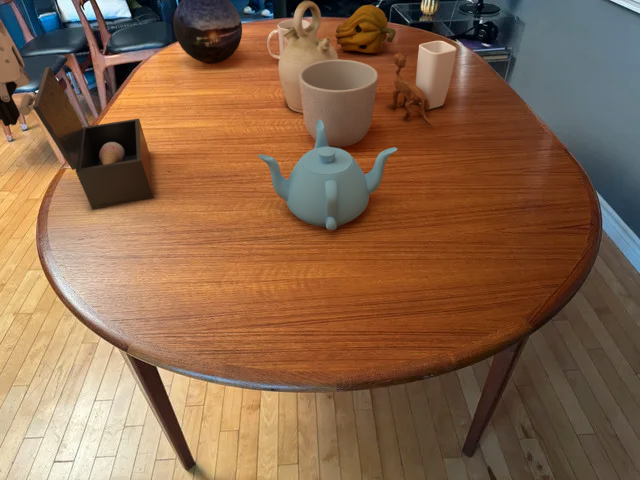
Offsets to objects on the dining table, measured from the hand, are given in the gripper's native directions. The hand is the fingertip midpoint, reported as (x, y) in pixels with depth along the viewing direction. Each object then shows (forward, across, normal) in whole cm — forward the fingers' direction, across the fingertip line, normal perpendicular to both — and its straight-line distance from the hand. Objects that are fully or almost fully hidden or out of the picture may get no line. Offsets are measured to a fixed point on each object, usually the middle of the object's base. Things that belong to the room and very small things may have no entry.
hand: (12, 121), depth 78 cm
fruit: (+20, -88, -57) cm, 107 cm away
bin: (+19, -12, -7) cm, 24 cm away
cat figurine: (+20, -82, -12) cm, 85 cm away
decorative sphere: (+20, -40, -66) cm, 80 cm away
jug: (+20, -60, -27) cm, 69 cm away
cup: (+20, -89, -16) cm, 92 cm away
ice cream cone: (+16, -12, -6) cm, 20 cm away
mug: (+20, -63, -57) cm, 87 cm away
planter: (+19, -61, -8) cm, 64 cm away
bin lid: (+3, -6, -7) cm, 10 cm away
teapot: (+19, -51, +15) cm, 56 cm away
